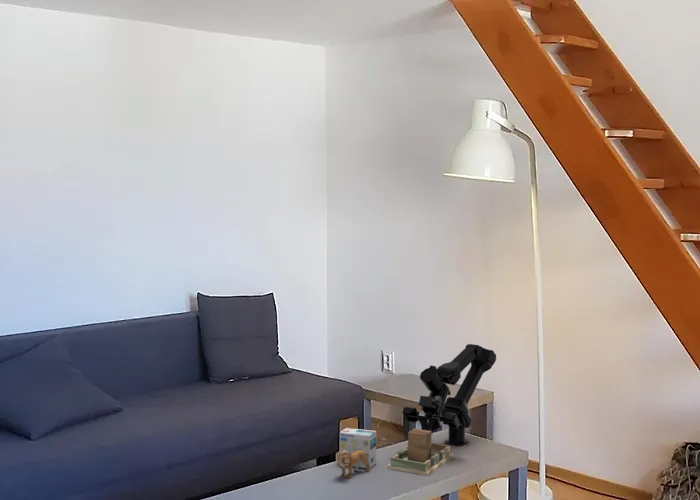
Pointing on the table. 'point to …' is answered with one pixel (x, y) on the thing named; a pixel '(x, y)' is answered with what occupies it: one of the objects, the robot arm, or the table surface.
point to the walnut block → (419, 445)
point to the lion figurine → (351, 461)
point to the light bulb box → (359, 443)
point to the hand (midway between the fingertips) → (423, 439)
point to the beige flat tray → (438, 458)
